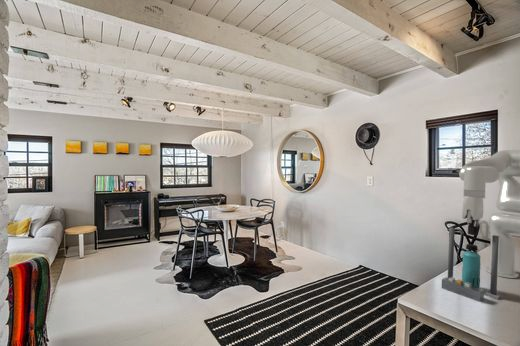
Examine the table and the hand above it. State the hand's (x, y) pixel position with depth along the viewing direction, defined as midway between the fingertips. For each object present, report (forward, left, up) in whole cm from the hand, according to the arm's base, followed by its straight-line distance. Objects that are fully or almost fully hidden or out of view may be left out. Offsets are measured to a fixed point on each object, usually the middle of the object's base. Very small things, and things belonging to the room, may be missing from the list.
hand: (472, 234), depth 117 cm
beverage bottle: (0, 0, -25) cm, 25 cm away
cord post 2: (0, +8, -25) cm, 26 cm away
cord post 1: (0, -8, -25) cm, 26 cm away
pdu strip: (+9, 0, -25) cm, 26 cm away
